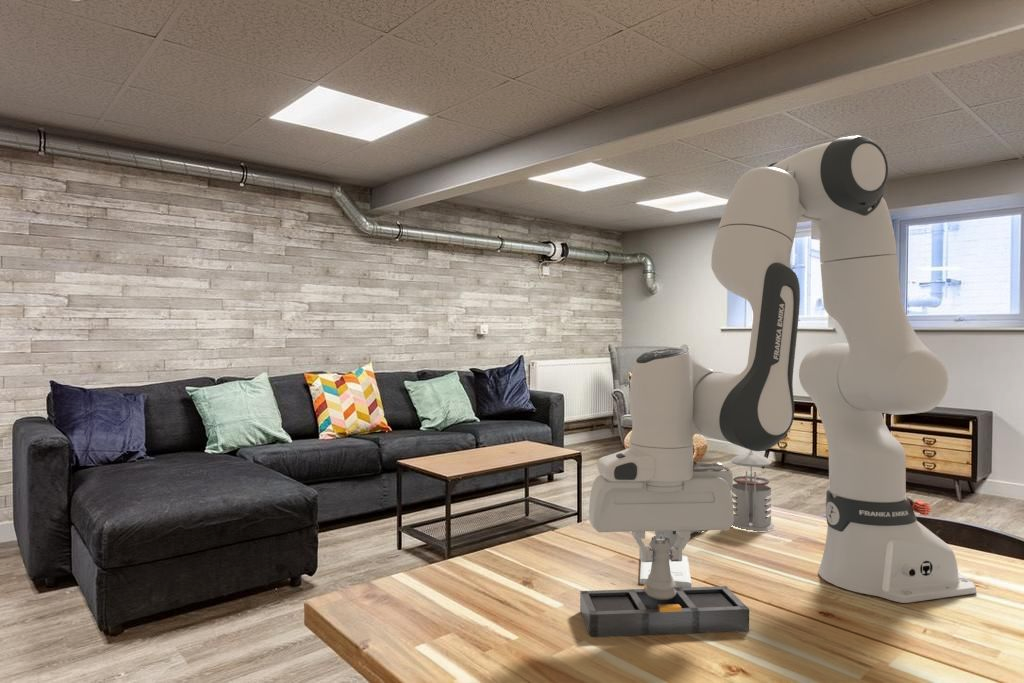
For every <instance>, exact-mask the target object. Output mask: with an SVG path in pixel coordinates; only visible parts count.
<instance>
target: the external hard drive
mask: <svg viewBox="0 0 1024 683" xmlns="http://www.w3.org/2000/svg"><path fill="white" fill-rule="evenodd" d="M689 564H690V563H689V557H688V556H686V555H683V554H682V561H678V562H671V560H669V565H670V572H671V576H672V577H673V581H674V582H675V583H676V588H688V587H692V579H691V570H690V565H689ZM651 566H652V562H642V561H641V560H640V570H639V585H645V582H646V579H647V578H648V575H649V574H650V572H651Z"/></svg>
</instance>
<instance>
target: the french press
mask: <svg viewBox="0 0 1024 683" xmlns="http://www.w3.org/2000/svg"><path fill="white" fill-rule="evenodd" d="M730 462H731V463H732V464H734V465H737V466H740V467H748V468H750V475H748V471H746V470H745V475H741V476H740V475H739V476H735V477H733V481H734V482H735V483H734V484H733V486H732V489H731V491H730V492H731V497H732V503H733V513H734V523H733V524H732V525H733V526H735V527H738V528H741V529H746V530H753V531H768V530H772V529H774V527H776V526H775V525H774V523H773V522H772V515H770V514H772V509H770V508H772V503H770V502H772V497H769V496H771V495H772V488H771V487H770V486H769V485H768V484H769V483H770V481H769V479H767V478H764V477H761V476H758V477H757V474H756V473H757V472H756V471H754V475H752V474H753V472H752V471H753V469H752V468H759V467H760V468H761V467H766V466H767V467H768V466H770V465H771V464H772V463H773V462H772V461H771V460H770V459H769V458H767V457H766V456H764V455H762V454H759V453H754V452H753V451H752V450H750V452H748V453H741V454H737V455H735V456H733V458H731V459H730ZM732 493H733V494H734V495H733V494H732ZM767 497H769V498H767ZM768 503H769V504H768ZM768 509H769V510H768Z"/></svg>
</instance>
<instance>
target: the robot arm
mask: <svg viewBox="0 0 1024 683" xmlns="http://www.w3.org/2000/svg"><path fill="white" fill-rule="evenodd" d="M888 166H889V165H888V159H887V157H886V155H885V153H884V151H883V149H882V148H881V147H880V146H879V145H878V144H877V143H876V142H875V140H873V139H871V137H867V136H865V135H863V136H862V135H850V136H843V137H839V138H838V137H837V138H836V139H834V140H833V141H830V142H826V143H825V142H824V143H821V144H818V145H814V146H811V147H808V148H805V149H801V150H800V151H798V152H797V153H794V154H793V155H790V156H788V157H786V158H784V159H782V160H780V161H776V162H773V163H770V164H769V165H767V166H760V167H759V166H758V167H754V168H752V169H749V170H748V171H746V172H745V173H743V174H742V175H741V176H740V177H739V179H738V180H737V181H736V183H735V185H734V187H733V189H732V191H731V193H730V195H729V197H728V199H727V203H726V205H725V208H724V210H723V213H722V215H721V218H720V222H719V225H718V228H717V232H716V235H715V237H714V243H713V247H712V251H711V260H710V261H711V265H710V266H711V269H712V272H713V274H714V276H715V278H716V279H717V281H718V282H719V283H720V285H722V286H723V287H724V288H725V289H726V290H727V291H729V292H731V293H733V294H735V295H737V296H739V297H740V298H743V299H745V300H746V301H747V302H748V303H749V305H750V308H751V310H752V326H751V333H750V341H749V350H748V357H747V358H748V359H747V364H746V366H745V368H744V369H743V371H741V373H731V372H727V373H726V372H723V371H722V372H721V371H715V369H712V368H709V367H707V366H706V365H703V364H701V363H699V362H698V361H696V360H695V359H694V358H693V357H692V356H690V353H689V352H688V351H687V350H685V349H682V348H664V349H655V350H650V351H647V352H644V353H642V354H641V355H639V356H638V357H637V358H636V360H635V361H634V364H633V367H632V371H631V377H630V386H629V414H630V418H631V424H632V428H631V431H630V432H631V433H630V436H629V448H625V449H623V450H620V451H617V452H613V453H610V454H607V455H605V456H602V457H600V458H598V460H597V465H596V466H597V471H598V473H599V474H600V475H598V476H597V477H596V478H595V479H594V480H593V482H592V485H591V490H590V496H589V506H588V507H589V508H588V521H589V523H590V525H591V527H592V528H593V529H594V530H595V531H597V533H620V532H621V533H622V532H623V533H625V532H627V533H629V532H631V535H632V538H633V539H634V541H635V543H636V544H637V546H638V548H639V551H638V552H639V560H640V562H641V561H642V562H653V558H652V556H653V550H652V549H651V547H650V546H649V545H648V546H647V545H645V544H644V542H643V540H644V539H646V532H655V531H676V533H677V534H678V535H679V536H678V538H677V540H676V542H675V544H674V546H672V548H671V549H670V550H669V554H670V556H671V557H670V559H669V560H671V562H678V561H682V555H683V550H684V549H685V547H686V545H687V544H688V543H689V541H690V539H691V534H690V530H706V531H726V530H730V528H731V526H732V524H733V523H734V514H735V512H734V511H733V508H734V505H733V503H732V501H733V498H732V495H731V494H732V491H731V490H732V486H733V481H734V480H733V479H734V477H733V473H732V470H731V469H730V468H729V467H727V466H725V465H724V464H723V463H721V462H712V463H706V462H694V439H693V438H694V436H695V435H700V436H703V437H708V438H710V439H715V440H718V441H723V442H727V443H730V444H733V445H735V446H739V447H741V448H744V449H747V450H749V451H751V450H752V452H763V451H767V450H771V449H772V448H773V447H775V446H776V445H777V444H779V443H780V442H781V441H782V440H783V439H784V438H785V437H786V435H787V434H788V433H789V431H790V429H792V425H793V422H794V418H795V400H794V388H793V383H794V382H793V379H794V376H793V375H794V368H795V358H796V348H797V338H798V328H799V326H798V325H799V318H800V317H799V316H800V302H801V291H800V290H801V288H800V282H799V277H798V276H797V274H796V273H795V270H793V269H792V267H791V266H792V264H791V255H792V249H793V245H794V241H795V237H796V232H797V227H798V223H805V222H811V221H814V222H815V224H816V225H817V227H818V228H819V231H820V232H819V233H820V234H819V262H820V263H819V264H820V272H821V273H820V275H821V289H822V299H823V302H822V303H823V307H824V309H825V310H824V311H825V312H826V313H827V314H828V316H830V317H831V318H833V319H834V320H835V321H836V323H838V325H839V326H840V328H841V329H842V331H843V334H844V336H845V338H846V340H847V342H836V343H832V344H831V343H830V344H827V345H823V346H819V347H816V348H814V349H811V350H810V351H809V352H807V354H805V356H803V359H802V360H801V362H800V365H799V370H798V378H799V381H800V382H799V383H800V385H801V387H802V389H803V390H804V392H806V393H805V394H807V395H808V397H810V399H811V400H812V401H813V404H814V405H815V407H816V410H817V412H818V414H819V418H820V421H821V423H822V426H823V430H824V433H825V437H826V441H827V442H826V443H827V449H828V478H829V479H828V483H829V484H828V489H827V490H826V498H825V499H826V500H825V515H826V516H825V517H826V518H825V519H826V524H827V531H826V539H825V545H824V549H823V553H822V554H823V555H822V558H821V561H820V565H819V568H818V570H817V572H818V575H819V576H820V577H821V579H823V580H825V581H826V582H828V583H829V584H832V585H834V586H836V587H839V588H842V589H845V590H847V591H851V592H855V593H859V594H863V595H864V594H865V595H869V596H875V597H880V598H881V599H882V598H883V599H886V600H889V601H893V602H897V603H902V604H909V603H915V602H923V601H929V600H935V599H944V598H950V597H952V598H953V597H957V596H966V595H972V594H976V593H977V587H976V585H975V583H974V582H973V581H972V580H970V578H968V577H966V576H965V575H963V574H962V573H960V572H959V567H958V563H957V562H958V561H957V558H956V555H955V552H954V550H953V549H952V547H951V546H950V545H949V544H948V543H946V542H945V541H944V540H943V539H941V538H940V537H939V536H938V535H936V534H935V533H934V532H932V531H931V530H930V529H929V528H927V527H926V526H924V525H923V524H922V523H921V522H919V521H918V519H917V516H916V513H917V514H919V515H921V516H929V515H930V513H932V506H931V505H930V504H929V503H928V502H924V501H921V500H918V499H917V500H915V501H914V500H913V499H911V498H909V497H907V496H906V491H907V489H906V487H907V486H906V485H907V484H906V481H907V474H906V473H907V470H906V468H907V467H906V466H907V465H906V464H907V462H906V460H907V459H906V458H907V457H906V456H907V455H906V451H905V449H904V446H903V445H902V443H901V442H899V440H898V439H897V438H896V437H895V436H894V435H893V434H892V433H891V431H890V430H889V428H888V425H886V421H885V418H884V416H883V414H886V415H887V414H888V415H894V416H895V415H898V416H900V415H911V414H920V413H927V412H930V411H932V410H933V409H935V408H936V407H937V406H938V405H940V403H941V402H942V400H943V399H944V397H945V395H946V392H947V390H948V385H949V378H948V371H947V368H946V367H945V364H944V362H943V361H942V359H941V358H940V357H939V356H938V354H936V353H934V352H933V351H931V350H930V349H929V348H928V347H927V346H926V345H925V344H924V343H923V342H922V341H921V339H920V337H918V335H917V333H916V331H915V329H914V328H913V326H912V324H911V322H910V320H909V318H908V316H907V313H906V310H905V307H904V304H903V299H902V292H901V286H900V276H899V264H898V263H899V262H898V255H897V254H898V252H897V243H896V236H895V230H894V226H893V221H892V218H891V213H890V211H889V207H888V205H887V201H886V200H885V198H884V197H883V196H884V192H885V189H886V186H887V183H888V176H889V167H888ZM642 539H643V540H642Z"/></svg>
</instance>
